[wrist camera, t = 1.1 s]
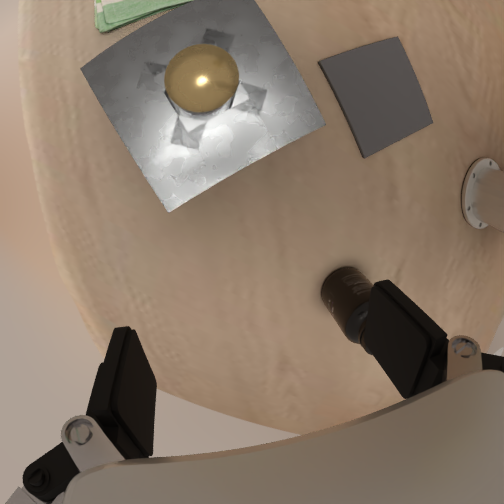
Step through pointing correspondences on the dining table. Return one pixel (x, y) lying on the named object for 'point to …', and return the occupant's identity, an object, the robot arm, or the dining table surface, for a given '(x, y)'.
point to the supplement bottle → (348, 302)
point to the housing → (202, 127)
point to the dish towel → (129, 11)
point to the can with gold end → (201, 79)
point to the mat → (377, 94)
